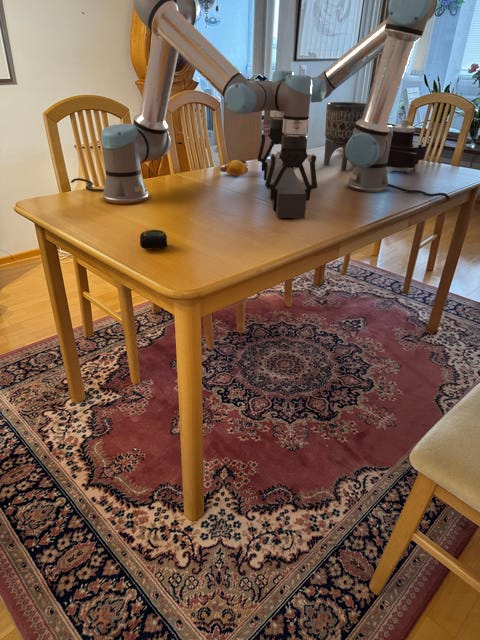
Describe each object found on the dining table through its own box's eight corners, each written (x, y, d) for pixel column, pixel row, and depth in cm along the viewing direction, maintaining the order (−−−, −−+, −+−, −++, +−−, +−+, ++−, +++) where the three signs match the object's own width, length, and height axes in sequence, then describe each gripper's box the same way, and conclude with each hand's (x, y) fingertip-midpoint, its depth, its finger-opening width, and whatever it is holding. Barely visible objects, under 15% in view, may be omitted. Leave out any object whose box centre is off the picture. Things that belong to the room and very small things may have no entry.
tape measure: (140, 252, 115) (139, 238, 113) (141, 242, 120) (140, 229, 119) (167, 251, 116) (166, 237, 114) (167, 241, 121) (166, 228, 120)
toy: (217, 168, 186) (223, 160, 199) (223, 183, 189) (228, 174, 202) (243, 159, 183) (247, 151, 195) (248, 175, 186) (252, 166, 198)
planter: (313, 167, 208) (319, 103, 195) (331, 160, 222) (338, 101, 209) (353, 173, 199) (362, 107, 185) (369, 166, 213) (379, 104, 199)
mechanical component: (372, 119, 196) (401, 114, 216) (364, 169, 206) (392, 160, 226) (421, 124, 184) (447, 118, 203) (410, 177, 194) (436, 167, 214)
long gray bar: (264, 177, 185) (265, 158, 181) (285, 178, 185) (287, 159, 181) (277, 217, 140) (278, 193, 136) (304, 217, 140) (307, 194, 136)
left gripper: (259, 135, 129) (256, 213, 141) (333, 137, 130) (324, 214, 142) (257, 132, 136) (254, 206, 147) (328, 133, 137) (320, 207, 148)
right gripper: (252, 118, 165) (250, 181, 176) (310, 119, 165) (304, 182, 177) (251, 116, 171) (249, 177, 183) (307, 117, 172) (302, 177, 183)
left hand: (289, 210), depth 144 cm, fingers closed on long gray bar, 9 cm apart
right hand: (276, 179), depth 180 cm, fingers closed on long gray bar, 9 cm apart
